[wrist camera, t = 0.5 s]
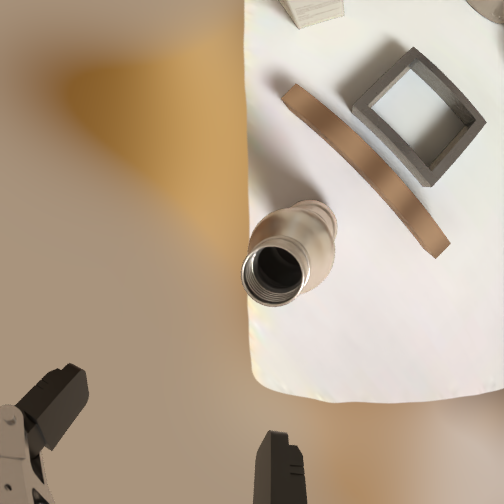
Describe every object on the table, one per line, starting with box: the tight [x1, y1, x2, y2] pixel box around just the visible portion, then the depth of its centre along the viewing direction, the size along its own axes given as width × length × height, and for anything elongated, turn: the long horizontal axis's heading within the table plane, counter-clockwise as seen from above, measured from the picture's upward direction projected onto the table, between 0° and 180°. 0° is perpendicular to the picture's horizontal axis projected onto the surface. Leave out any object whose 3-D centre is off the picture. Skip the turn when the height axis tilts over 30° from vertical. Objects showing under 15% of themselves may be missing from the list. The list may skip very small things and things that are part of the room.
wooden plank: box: [281, 84, 451, 259], centre depth 27 cm, size 24×2×5 cm, turn 47°
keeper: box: [352, 47, 487, 187], centre depth 24 cm, size 12×12×4 cm
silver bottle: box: [241, 200, 337, 307], centre depth 24 cm, size 6×7×20 cm
